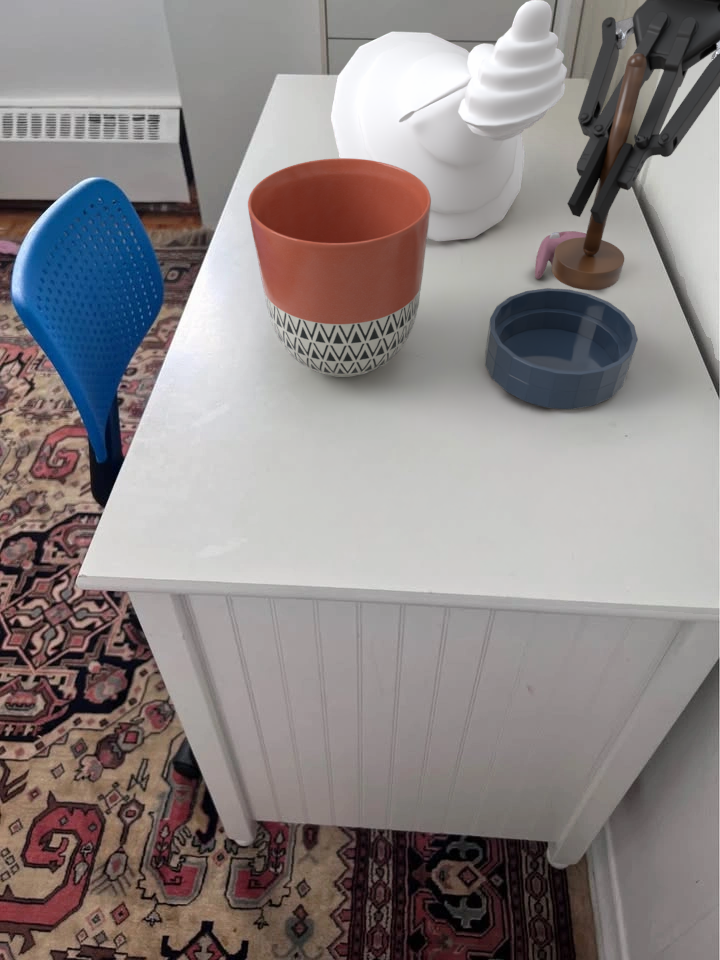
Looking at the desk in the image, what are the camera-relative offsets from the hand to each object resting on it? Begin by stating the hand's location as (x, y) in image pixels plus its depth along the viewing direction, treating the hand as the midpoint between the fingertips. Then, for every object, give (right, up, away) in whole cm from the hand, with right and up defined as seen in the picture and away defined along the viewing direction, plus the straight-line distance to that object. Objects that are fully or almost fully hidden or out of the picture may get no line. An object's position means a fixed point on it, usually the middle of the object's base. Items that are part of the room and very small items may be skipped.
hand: (585, 213), depth 67 cm
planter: (-23, -10, +25) cm, 35 cm away
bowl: (+3, -11, +23) cm, 26 cm away
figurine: (-8, +18, +50) cm, 54 cm away
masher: (+3, -3, +8) cm, 9 cm away
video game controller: (+9, +5, +38) cm, 39 cm away
